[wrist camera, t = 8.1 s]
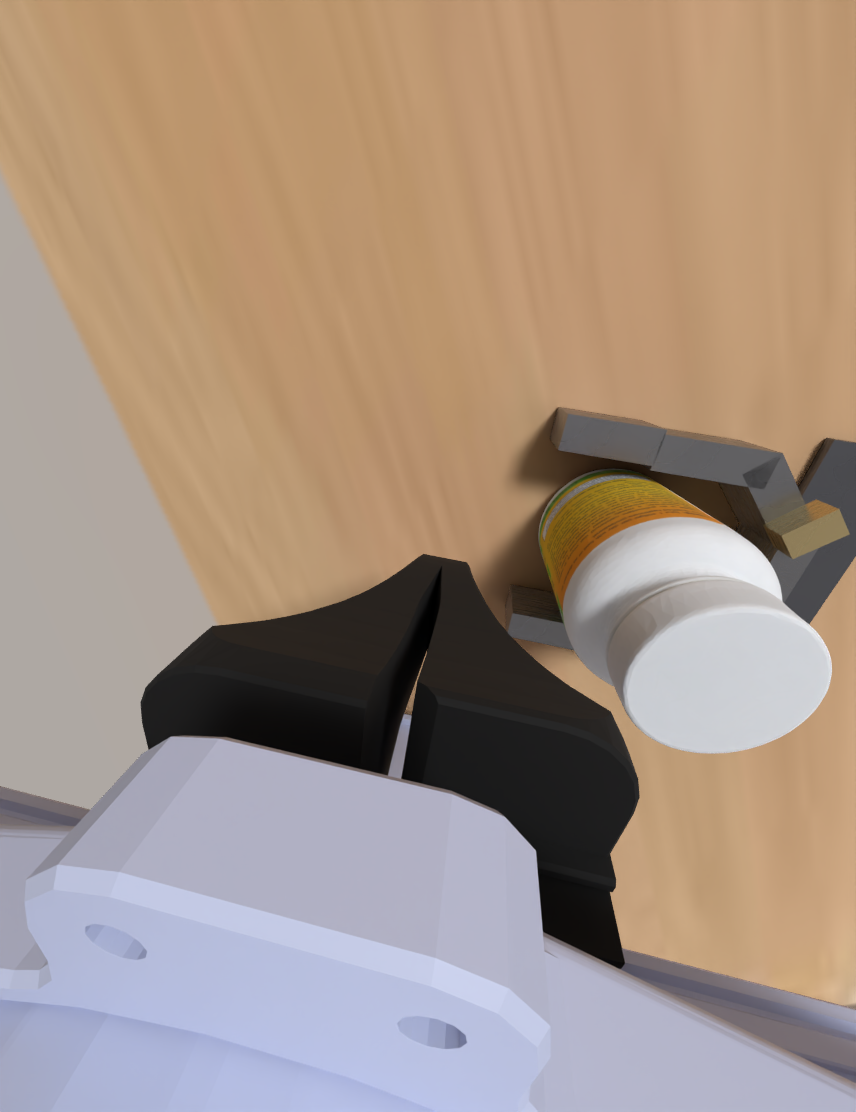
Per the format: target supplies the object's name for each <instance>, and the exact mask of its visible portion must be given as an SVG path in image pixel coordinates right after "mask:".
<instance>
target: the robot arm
mask: <svg viewBox="0 0 856 1112" xmlns="http://www.w3.org/2000/svg"><path fill="white" fill-rule="evenodd" d="M427 648H428V649H427ZM426 651H427V655H426V658H425V661H424V664H423V667H422V670H421V673H420V676H419V678H418V681H417V687H416V693H415V699H414V705H413V711H412V715H407V714H404V712H405V709H406V707H407V704H408V701H409V698H410V695H411V693H412V690H413V687H414V684H415V682H416V679H417V676H418V673H419V671H420V668H421V665H422V662H423V659H424V657H425V654H426ZM141 714H142V723H143V728H144V732H145V736H146V740H147V745H148V749H149V750H148V751H146V752H144V753H143V754H141V756H140V757H139V758H138V759H137V760H136V761H135V762H134V763H133V764H132V765H131V766H130V767H129V769H128V770H127V771H126V772H125V773H124V774H123V775H122V776H121V777H120V778H119V779H118V780H117V782H116V783H115V784H114V785H113V786H112V787H111V788H110V789H109V790H108V791H107V792H106V794H105V795H104V796H103V797H102V798H101V799H100V800H99V801H98V802H97V803H96V804H95V805H94V806H93V808H92V809H91V810H89V809H85V808H82V807H78V806H74V805H70V804H66V803H62V802H59V801H55V800H51V799H47V798H43V797H39V796H35V795H31V794H28V793H24V792H20V791H16V790H12V789H9V788H5V787H1V786H0V1112H856V1009H853V1008H849V1007H846V1006H842V1005H838V1004H834V1003H830V1002H826V1001H823V1000H819V999H815V998H811V997H807V996H803V995H800V994H796V993H792V992H788V991H784V990H780V989H777V988H773V987H769V986H765V985H761V984H757V983H754V982H750V981H746V980H742V979H738V978H734V977H730V976H727V975H723V974H719V973H715V972H711V971H707V970H704V969H700V968H696V967H692V966H688V965H684V964H681V963H677V962H673V961H669V960H665V959H661V958H658V957H654V956H650V955H646V954H642V953H638V952H635V951H631V950H627V949H623V948H622V947H621V942H620V937H619V933H618V928H617V924H616V919H615V914H614V910H613V905H612V901H611V896H610V892H613V891H614V889H615V887H616V877H615V873H614V869H613V865H612V861H611V856H610V853H611V851H612V849H613V848H614V846H615V844H616V843H617V841H618V839H619V838H620V836H621V834H622V833H623V831H624V829H625V827H626V826H627V824H628V822H629V821H630V819H631V817H632V816H633V814H634V811H635V808H636V806H637V803H638V800H639V784H638V778H637V775H636V772H635V769H634V766H633V763H632V760H631V757H630V754H629V752H628V749H627V747H626V744H625V742H624V739H623V737H622V735H621V733H620V731H619V728H618V726H617V724H616V722H615V720H614V718H613V715H612V713H611V712H610V711H609V710H607V709H606V708H604V707H602V706H601V705H599V704H597V703H596V702H594V701H593V700H591V699H589V698H588V697H586V696H584V695H583V694H581V693H580V692H578V691H576V690H575V689H573V688H572V687H570V686H569V685H567V684H566V683H564V682H563V681H562V680H560V679H559V678H558V677H556V676H555V675H554V674H552V673H551V672H550V671H548V670H547V669H546V668H544V667H543V666H542V665H541V664H540V663H538V662H537V661H536V660H535V659H534V658H533V657H532V656H530V655H529V654H528V653H527V652H526V651H525V650H524V649H523V648H522V647H521V646H520V645H519V644H518V643H517V642H516V641H515V640H514V639H513V638H512V637H511V636H510V635H509V634H508V632H507V631H506V630H505V629H504V628H503V627H502V626H501V624H500V623H499V622H498V621H497V619H496V618H495V616H494V615H493V613H492V612H491V610H490V609H489V607H488V605H487V604H486V602H485V600H484V599H483V597H482V595H481V593H480V591H479V589H478V587H477V585H476V583H475V581H474V578H473V576H472V573H471V570H470V567H469V565H468V564H467V562H462V561H457V560H452V559H446V558H441V557H436V556H431V555H426V554H423V555H421V556H420V557H418V558H417V559H415V560H414V561H413V562H411V563H410V564H409V565H407V566H406V567H405V568H403V569H402V570H401V571H399V572H398V573H396V574H395V575H393V576H392V577H390V578H389V579H387V580H385V581H384V582H382V583H380V584H378V585H377V586H375V587H373V588H371V589H369V590H367V591H365V592H363V593H361V594H359V595H356V596H354V597H352V598H349V599H347V600H344V601H342V602H339V603H336V604H332V605H329V606H326V607H323V608H319V609H316V610H313V611H309V612H305V613H301V614H297V615H292V616H287V617H282V618H276V619H271V620H264V621H257V622H248V623H239V624H229V625H219V626H212V627H211V628H210V629H209V630H207V631H206V632H205V633H204V634H202V635H201V636H200V637H199V638H198V639H197V640H196V641H195V642H193V643H192V644H191V645H190V646H189V647H188V648H187V649H185V650H184V651H183V652H182V653H181V654H180V655H179V656H178V657H177V658H176V659H175V660H173V661H172V662H171V663H170V664H169V665H168V666H167V667H166V668H165V669H164V670H162V671H161V672H160V673H159V674H158V675H157V676H156V677H155V678H154V679H153V680H152V681H151V682H150V683H149V685H148V686H147V687H146V688H145V691H144V694H143V697H142V700H141Z"/></svg>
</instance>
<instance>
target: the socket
mask: <svg viewBox="0 0 856 1112" xmlns="http://www.w3.org/2000/svg"><path fill="white" fill-rule="evenodd" d="M550 440H551V441H552V442H553V444H554V445H555V447H556V448H557V449H558V450H560V451H566V452H572V453H578V454H584V455H590V456H595V457H601V458H607V459H613V460H619V461H625V462H631V463H637V464H642V465H643V466H644V467H646V468H647V469H649V470H651V471H657V472H663V473H669V474H675V475H681V476H686V477H692V478H698V479H704V480H710V481H716V482H719V484H720V486H721V488H722V490H723V492H724V494H725V496H726V498H727V500H728V502H729V504H730V506H731V508H732V510H733V512H734V514H735V516H736V518H737V520H738V522H739V526H738V528H737V530H736V532H737V533H738V534H740V535H741V536H743V537H744V538H745V539H747V540H748V541H749V542H751V543H752V544H753V545H754V546H756V547H757V548H758V549H759V550H760V551H761V552H762V553H763V555H764V556H765V557H766V558H767V560H768V561H769V563H770V564H771V565H772V567H773V569H774V571H775V573H776V575H777V577H778V580H779V584H780V587H781V593H782V602H783V603H784V604H785V605H786V606H787V607H788V608H790V609H791V610H792V611H793V612H794V613H796V614H797V615H798V616H799V617H800V618H802V619H803V620H804V621H805V622H807V623H808V624H810V622H811V621H812V619H813V618H814V616H815V615H816V614H817V612H818V611H819V609H820V608H821V606H822V605H823V603H824V602H825V600H826V599H827V597H828V596H829V595H830V593H831V592H832V590H833V589H834V587H835V586H836V584H837V583H838V581H839V580H840V578H841V577H842V576H843V574H844V573H845V571H846V570H847V568H848V567H849V565H850V564H851V562H852V561H853V559H854V558H855V557H856V443H855V442H849V441H843V440H836V439H830V438H826V439H825V441H824V443H823V445H822V447H821V448H820V450H819V452H818V454H817V455H816V457H815V459H814V461H813V462H812V464H811V466H810V468H809V470H808V471H807V473H806V475H805V477H804V478H803V480H802V482H801V484H800V485H799V487H797V484H796V482H795V480H794V478H793V475H792V473H791V471H790V469H789V466H788V464H787V462H786V460H785V457H784V455H783V453H780V452H777V451H773V450H770V449H767V448H763V447H760V446H757V445H754V444H750V443H747V442H744V441H740V440H734V439H727V438H721V437H715V436H709V435H703V434H696V433H690V432H684V431H678V430H671V429H665V428H661V427H659V426H656V425H653V424H651V423H648V422H645V421H642V420H636V419H630V418H624V417H617V416H611V415H605V414H599V413H592V412H586V411H580V410H574V409H567V408H561V407H558V409H557V413H556V417H555V420H554V424H553V428H552V432H551V435H550ZM505 612H506V631H507V632H508V634H509V635H510V636H511V637H513V638H518V639H523V640H528V641H533V642H538V643H542V644H547V645H552V646H557V647H562V648H567V649H571V650H574V649H573V647H572V645H571V643H570V640H569V638H568V635H567V632H566V629H565V626H564V623H563V620H562V616H561V613H560V609H559V606H558V603H557V600H556V597H555V594H554V593H553V592H548V591H543V590H538V589H533V588H528V587H522V586H517V585H512V584H511V586H510V589H509V593H508V597H507V601H506V604H505Z"/></svg>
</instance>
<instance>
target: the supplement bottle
mask: <svg viewBox="0 0 856 1112" xmlns="http://www.w3.org/2000/svg"><path fill="white" fill-rule="evenodd" d="M538 535H539V546H540V550H541V554H542V558H543V561H544V563H545V566H546V569H547V572H548V575H549V578H550V581H551V584H552V587H553V591H554V594H555V597H556V600H557V603H558V606H559V609H560V613H561V616H562V620H563V623H564V626H565V629H566V632H567V635H568V638H569V640H570V643H571V645H572V647H573V649H574V651H575V652H576V654H577V656H578V657H579V658H580V660H581V661H582V662H583V663H584V664H585V666H586V667H587V668H588V669H589V670H590V671H591V672H593V673H594V674H595V675H596V676H598V677H599V678H600V679H602V680H604V681H605V682H607V683H608V684H610V685H612V686H614V687H615V689H616V692H617V694H618V696H619V698H620V700H621V702H622V705H623V707H624V709H625V711H626V713H627V715H628V716H629V718H630V719H631V721H632V722H633V723H634V724H635V725H636V726H637V727H638V728H639V729H640V730H641V731H642V732H643V733H645V734H646V735H647V736H649V737H650V738H652V739H653V740H655V741H657V742H659V743H661V744H664V745H666V746H668V747H672V748H675V749H679V750H683V751H688V752H695V753H729V752H736V751H741V750H746V749H750V748H754V747H757V746H760V745H763V744H766V743H768V742H771V741H773V740H775V739H777V738H780V737H781V736H783V735H785V734H787V733H788V732H790V731H792V730H793V729H794V728H796V727H797V726H799V725H800V724H801V723H802V722H804V721H805V720H806V719H807V718H808V717H809V716H810V715H811V714H812V713H813V712H814V711H815V709H816V708H817V707H818V706H819V704H820V703H821V701H822V699H823V698H824V696H825V695H826V693H827V690H828V687H829V685H830V680H831V674H832V665H831V657H830V654H829V652H828V649H827V647H826V645H825V643H824V641H823V640H822V638H821V637H820V636H819V634H818V633H817V632H816V631H815V630H814V629H813V628H812V627H811V626H810V625H809V624H808V623H807V622H805V621H804V620H803V619H802V618H800V617H799V616H798V615H797V614H796V613H794V612H793V611H792V610H791V609H790V608H788V607H787V606H786V605H785V604H784V603H783V602H782V593H781V587H780V584H779V580H778V577H777V575H776V573H775V571H774V569H773V567H772V565H771V564H770V563H769V561H768V560H767V558H766V557H765V556H764V555H763V553H762V552H761V551H760V550H759V549H758V548H757V547H756V546H754V545H753V544H752V543H751V542H749V541H748V540H747V539H745V538H744V537H743V536H741V535H740V534H738V533H737V532H735V531H734V530H732V529H731V528H729V527H727V526H726V525H724V524H723V523H721V522H719V521H718V520H716V519H715V518H713V517H711V516H710V515H708V514H707V513H705V512H703V511H702V510H700V509H699V508H697V507H696V506H694V505H692V504H691V503H689V502H688V501H686V500H684V499H683V498H681V497H680V496H678V495H677V494H675V493H673V492H672V491H670V490H669V489H667V488H666V487H664V486H662V485H661V484H659V483H658V482H656V481H654V480H653V479H651V478H649V477H647V476H645V475H643V474H641V473H638V472H635V471H631V470H626V469H615V468H611V469H601V470H596V471H592V472H589V473H586V474H583V475H581V476H579V477H577V478H575V479H574V480H572V481H570V482H569V483H567V484H566V485H565V486H564V487H562V488H561V489H560V490H559V491H558V492H557V493H556V494H555V495H554V496H553V498H552V499H551V500H550V502H549V503H548V505H547V507H546V508H545V510H544V513H543V515H542V518H541V521H540V525H539V534H538Z"/></svg>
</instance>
